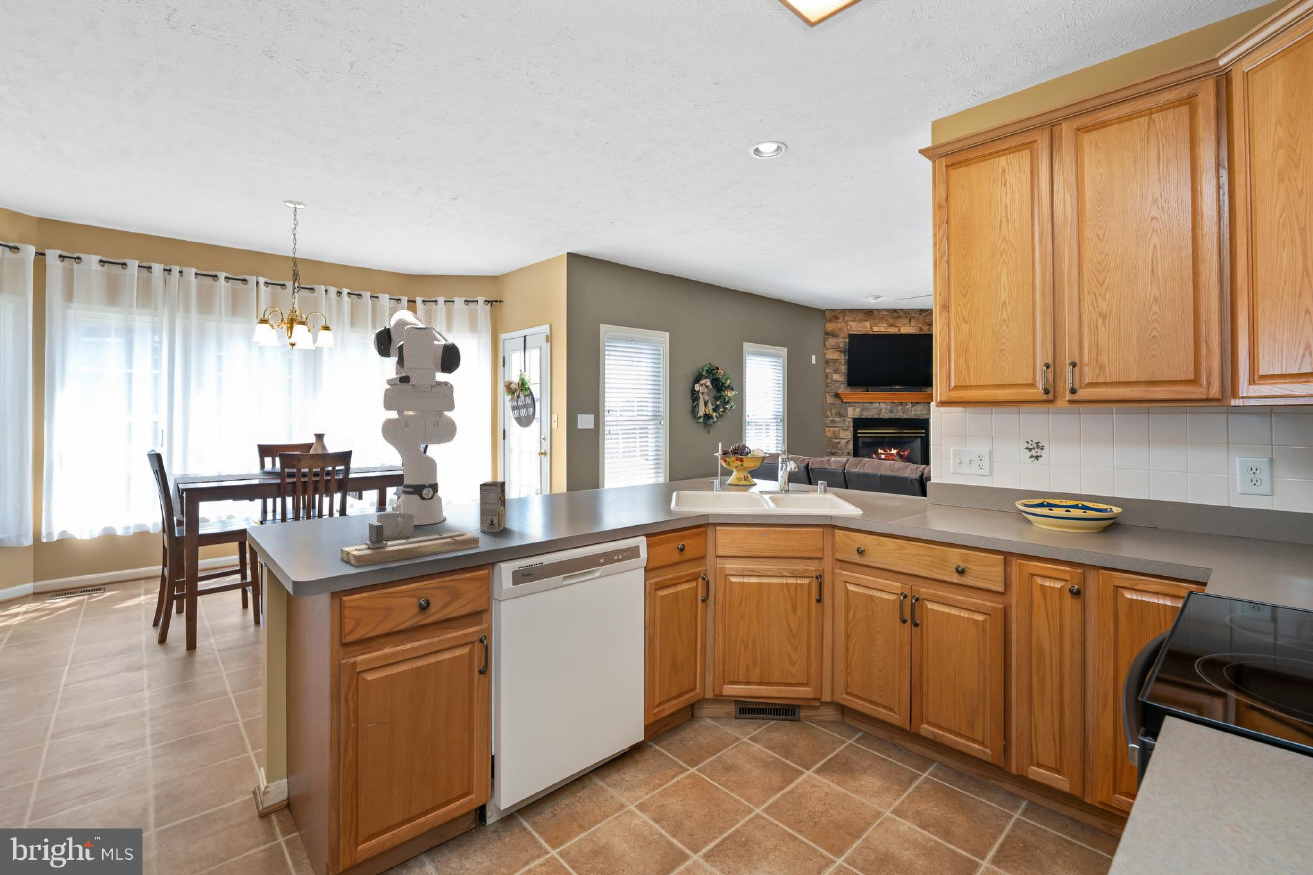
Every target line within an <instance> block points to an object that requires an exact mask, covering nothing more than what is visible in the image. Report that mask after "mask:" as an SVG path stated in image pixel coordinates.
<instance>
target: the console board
mask: <svg viewBox="0 0 1313 875" xmlns="http://www.w3.org/2000/svg"><path fill="white" fill-rule="evenodd" d="M386 542H387V546H385V547H378V548H370V547H368V546H365V544H359V545H353V546H345V547H341V548H340V559H341V560H343V561H345V562H348V563H349V564H351V565H353V566H355V567H361V566H367V565H372V564H373V565H374V564H380V563H386V562H393V561H397V560H398V561H399V560H405V559H406V560H407V559H410V558H417V557H424V556H431V555H436V554H443V553H449V552H450V553H451V552H455V551H456V552H457V551H461V550H467V549H473V548H479V547H480V537H479V536H475V535H473V534H469V533H465V532H462V531H456V532H449V533H439V534H434V535H426V536H418V537H413V538H407V539H403V540H396V541H386Z"/></svg>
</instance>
